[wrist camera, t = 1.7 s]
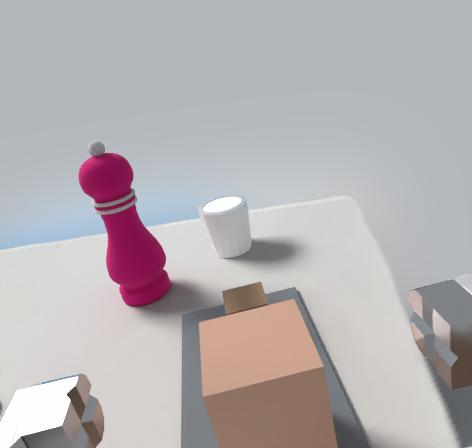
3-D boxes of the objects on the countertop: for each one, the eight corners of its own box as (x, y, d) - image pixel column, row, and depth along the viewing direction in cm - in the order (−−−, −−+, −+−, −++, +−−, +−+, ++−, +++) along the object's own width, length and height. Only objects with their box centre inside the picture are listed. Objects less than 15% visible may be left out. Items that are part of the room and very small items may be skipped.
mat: (390, 496, 26) (389, 492, 26) (182, 550, 25) (180, 546, 25) (295, 290, 48) (294, 287, 48) (183, 317, 48) (182, 315, 47)
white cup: (231, 265, 56) (219, 217, 53) (199, 254, 61) (187, 210, 58) (266, 242, 60) (256, 196, 57) (233, 233, 65) (223, 191, 62)
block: (235, 348, 40) (225, 314, 39) (230, 323, 44) (222, 291, 43) (275, 337, 41) (267, 303, 39) (268, 313, 44) (260, 281, 43)
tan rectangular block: (241, 514, 26) (202, 397, 22) (231, 427, 32) (198, 322, 28) (344, 488, 26) (323, 366, 22) (314, 406, 32) (294, 298, 28)
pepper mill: (174, 271, 58) (129, 128, 50) (174, 300, 51) (121, 140, 43) (123, 284, 58) (69, 142, 50) (116, 314, 51) (52, 156, 43)
